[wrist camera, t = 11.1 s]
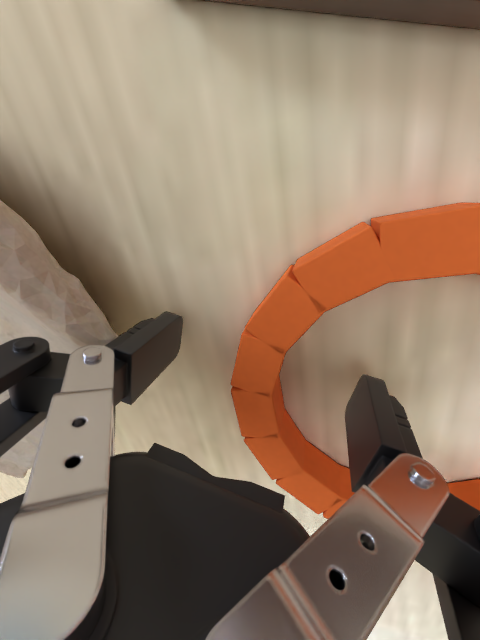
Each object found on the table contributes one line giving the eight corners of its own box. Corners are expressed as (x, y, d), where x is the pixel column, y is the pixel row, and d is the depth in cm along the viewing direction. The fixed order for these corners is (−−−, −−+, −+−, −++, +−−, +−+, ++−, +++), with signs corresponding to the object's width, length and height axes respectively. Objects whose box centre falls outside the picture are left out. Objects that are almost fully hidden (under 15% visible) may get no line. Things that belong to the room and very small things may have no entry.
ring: (222, 444, 17) (210, 472, 15) (287, 165, 10) (279, 159, 8) (493, 549, 14) (516, 596, 12) (825, 272, 7) (971, 293, 6)
